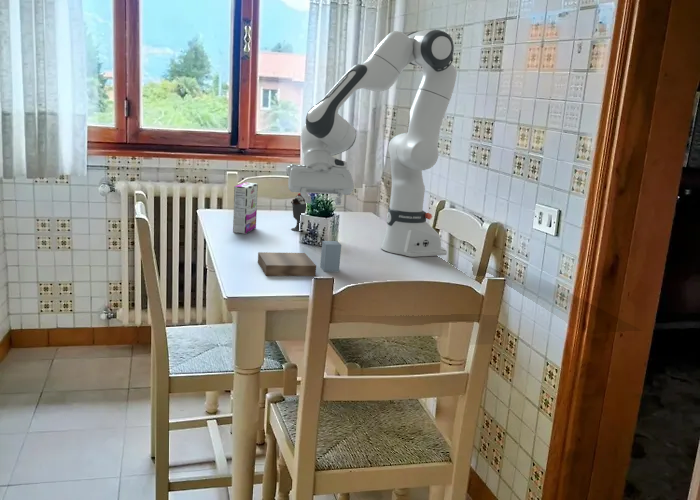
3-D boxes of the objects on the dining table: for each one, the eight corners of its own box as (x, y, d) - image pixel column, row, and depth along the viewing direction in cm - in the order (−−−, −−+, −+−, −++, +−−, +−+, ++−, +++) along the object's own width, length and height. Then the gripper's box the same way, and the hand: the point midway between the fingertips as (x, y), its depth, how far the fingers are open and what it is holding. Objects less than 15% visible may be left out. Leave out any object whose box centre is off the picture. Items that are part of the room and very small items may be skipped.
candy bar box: (243, 226, 240) (245, 181, 236) (256, 228, 239) (258, 183, 236) (231, 232, 230) (233, 185, 226) (245, 234, 229) (247, 187, 225)
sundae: (303, 227, 248) (306, 188, 244) (309, 232, 242) (312, 191, 238) (286, 227, 245) (289, 187, 242) (291, 231, 239) (294, 190, 236)
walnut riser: (304, 262, 199) (304, 252, 199) (315, 275, 186) (316, 265, 186) (257, 262, 195) (258, 252, 194) (265, 275, 182) (266, 265, 181)
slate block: (334, 267, 197) (337, 241, 196) (338, 271, 193) (341, 244, 191) (320, 267, 196) (322, 240, 194) (324, 271, 192) (326, 244, 190)
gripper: (287, 158, 202) (292, 195, 195) (351, 162, 208) (357, 198, 202) (283, 170, 207) (287, 207, 201) (346, 174, 214) (352, 210, 207)
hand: (323, 203), depth 201 cm, fingers open, 8 cm apart
